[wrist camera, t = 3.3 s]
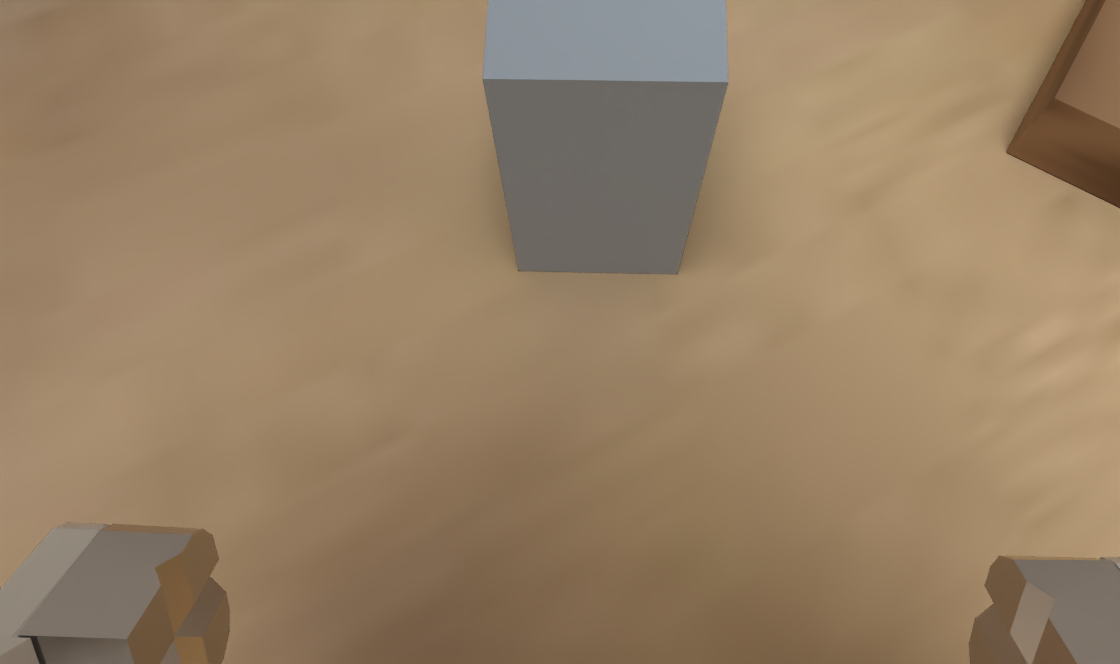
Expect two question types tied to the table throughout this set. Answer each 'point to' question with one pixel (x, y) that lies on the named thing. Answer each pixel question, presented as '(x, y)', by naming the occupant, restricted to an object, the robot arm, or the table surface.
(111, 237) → the table surface
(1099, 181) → the walnut block
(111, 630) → the robot arm
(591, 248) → the gray block
